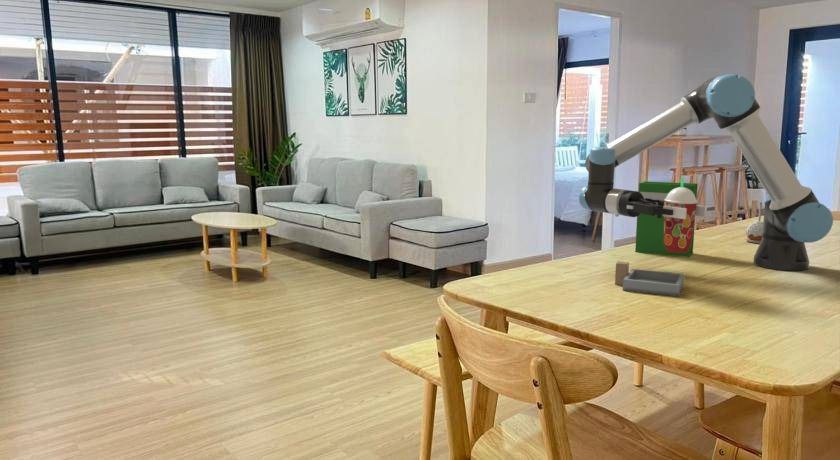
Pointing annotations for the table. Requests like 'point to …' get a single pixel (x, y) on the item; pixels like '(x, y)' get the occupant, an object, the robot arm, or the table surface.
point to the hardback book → (657, 220)
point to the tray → (648, 280)
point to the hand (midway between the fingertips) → (695, 212)
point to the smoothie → (680, 220)
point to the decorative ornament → (755, 230)
